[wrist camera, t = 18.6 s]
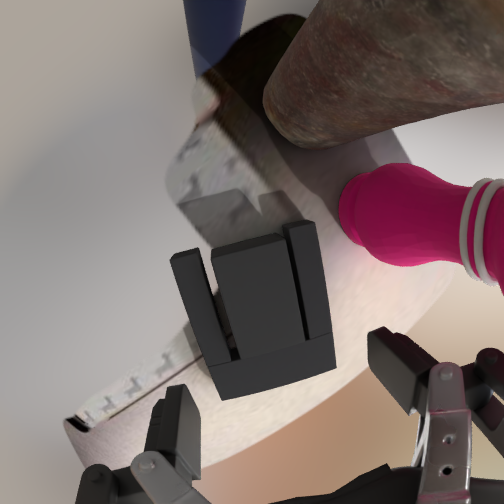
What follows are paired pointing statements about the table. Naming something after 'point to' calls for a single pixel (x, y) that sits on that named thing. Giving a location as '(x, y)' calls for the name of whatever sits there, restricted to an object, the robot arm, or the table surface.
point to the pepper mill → (427, 220)
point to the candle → (385, 67)
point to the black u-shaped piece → (275, 362)
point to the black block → (259, 294)
